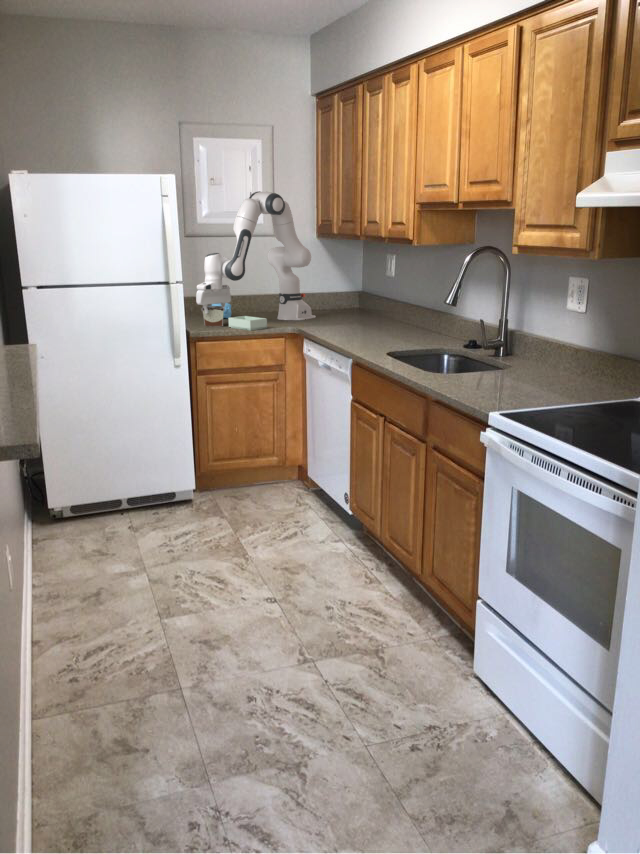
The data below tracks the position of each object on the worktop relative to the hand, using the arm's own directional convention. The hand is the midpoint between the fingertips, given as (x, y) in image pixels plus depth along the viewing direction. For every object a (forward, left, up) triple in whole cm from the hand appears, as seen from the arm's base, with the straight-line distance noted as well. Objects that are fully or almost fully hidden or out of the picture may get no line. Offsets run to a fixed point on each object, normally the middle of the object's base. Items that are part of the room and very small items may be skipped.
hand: (214, 312), depth 395 cm
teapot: (-20, -21, -7) cm, 29 cm away
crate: (-6, +19, -7) cm, 21 cm away
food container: (0, 0, -7) cm, 7 cm away
